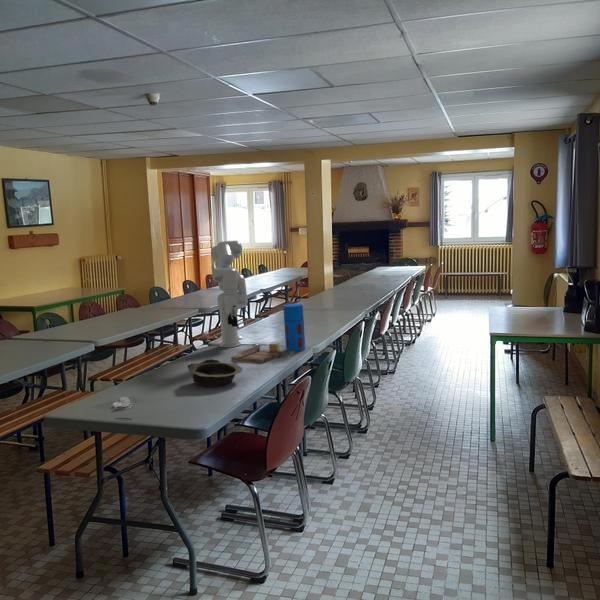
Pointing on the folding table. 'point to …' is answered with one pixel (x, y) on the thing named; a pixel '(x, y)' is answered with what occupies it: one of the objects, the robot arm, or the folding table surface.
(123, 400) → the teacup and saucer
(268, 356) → the plate
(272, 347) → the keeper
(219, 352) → the folding table surface
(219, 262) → the robot arm
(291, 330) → the thermos
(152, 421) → the folding table surface
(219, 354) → the folding table surface
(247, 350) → the lock bar
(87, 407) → the folding table surface
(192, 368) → the brown round bowl
